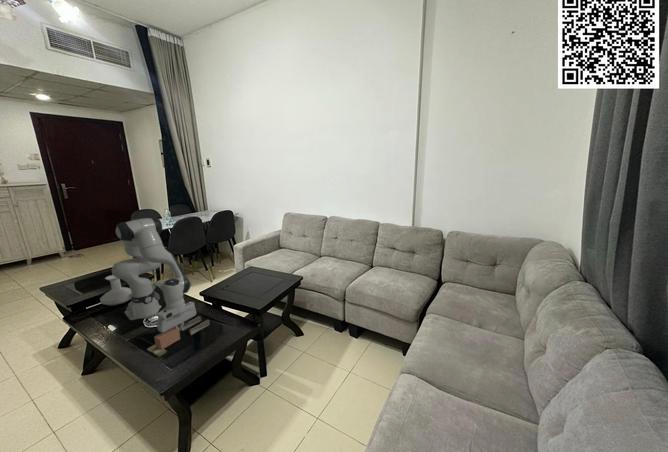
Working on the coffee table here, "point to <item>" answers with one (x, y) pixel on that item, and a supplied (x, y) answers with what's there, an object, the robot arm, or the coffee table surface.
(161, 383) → the coffee table surface
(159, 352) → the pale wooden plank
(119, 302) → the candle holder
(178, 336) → the terracotta block
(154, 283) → the stack of blocks
